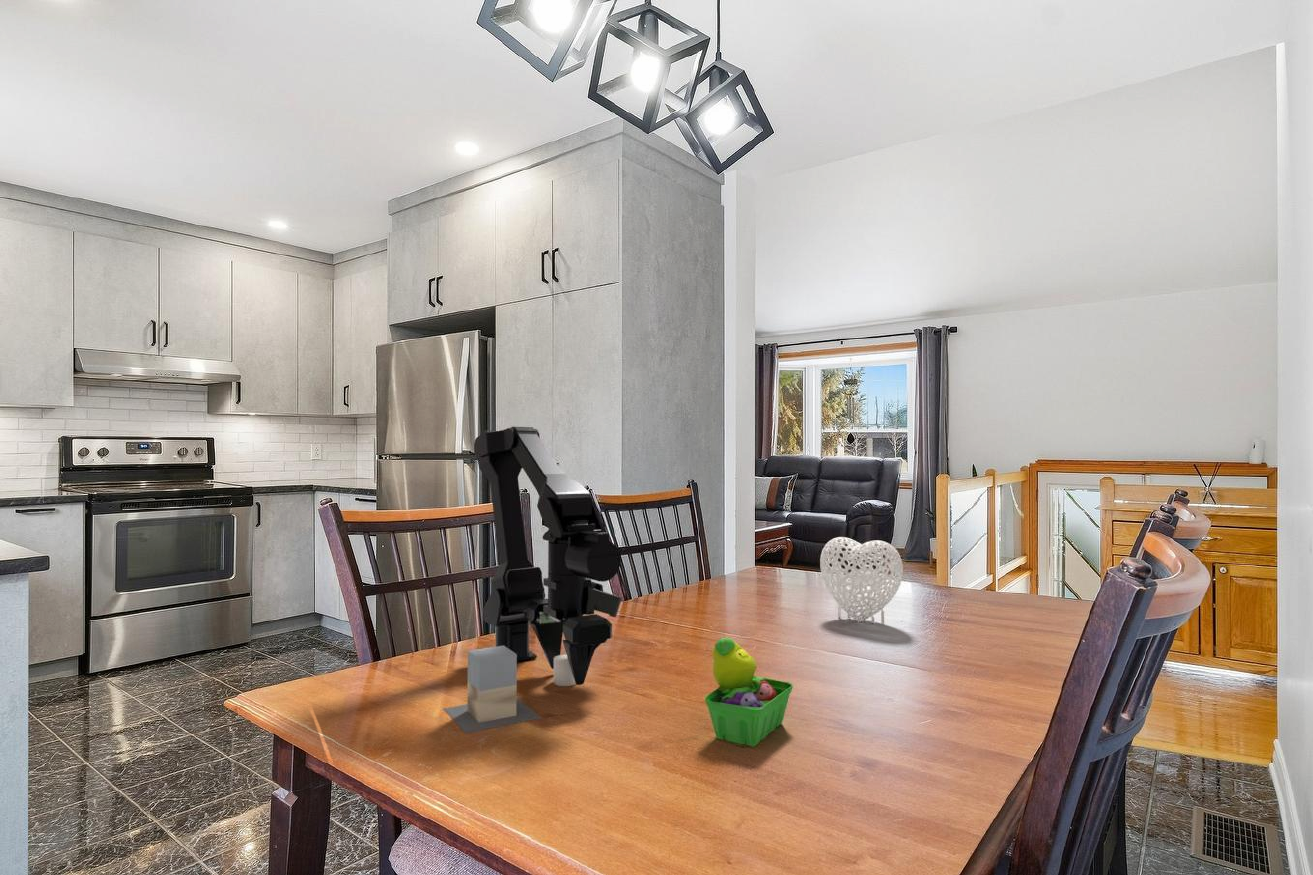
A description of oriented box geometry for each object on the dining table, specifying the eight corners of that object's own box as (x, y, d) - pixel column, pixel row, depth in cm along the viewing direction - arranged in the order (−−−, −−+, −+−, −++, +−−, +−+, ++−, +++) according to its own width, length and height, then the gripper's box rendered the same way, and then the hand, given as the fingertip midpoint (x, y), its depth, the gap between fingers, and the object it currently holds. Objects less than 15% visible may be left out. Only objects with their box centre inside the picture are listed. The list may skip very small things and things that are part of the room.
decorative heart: (913, 624, 147) (913, 540, 148) (887, 633, 140) (887, 545, 140) (836, 610, 160) (836, 533, 161) (808, 618, 153) (808, 537, 153)
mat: (443, 711, 98) (443, 708, 98) (514, 698, 103) (514, 695, 103) (465, 736, 89) (465, 733, 89) (541, 721, 94) (541, 718, 94)
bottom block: (467, 710, 97) (467, 680, 97) (503, 704, 99) (503, 674, 99) (479, 722, 93) (479, 691, 93) (516, 715, 95) (516, 684, 95)
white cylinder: (549, 683, 110) (549, 656, 110) (573, 679, 112) (573, 653, 112) (559, 690, 106) (560, 663, 107) (584, 686, 109) (584, 659, 109)
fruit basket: (759, 753, 84) (759, 656, 85) (692, 737, 89) (693, 645, 89) (795, 723, 94) (795, 635, 94) (733, 710, 99) (733, 626, 99)
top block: (467, 680, 97) (467, 650, 97) (503, 674, 99) (503, 645, 100) (479, 691, 93) (479, 659, 93) (516, 684, 95) (516, 654, 95)
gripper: (644, 576, 106) (644, 684, 105) (588, 560, 122) (587, 653, 121) (574, 583, 100) (574, 697, 100) (525, 565, 116) (524, 663, 116)
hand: (566, 676), depth 109 cm, fingers open, 9 cm apart
